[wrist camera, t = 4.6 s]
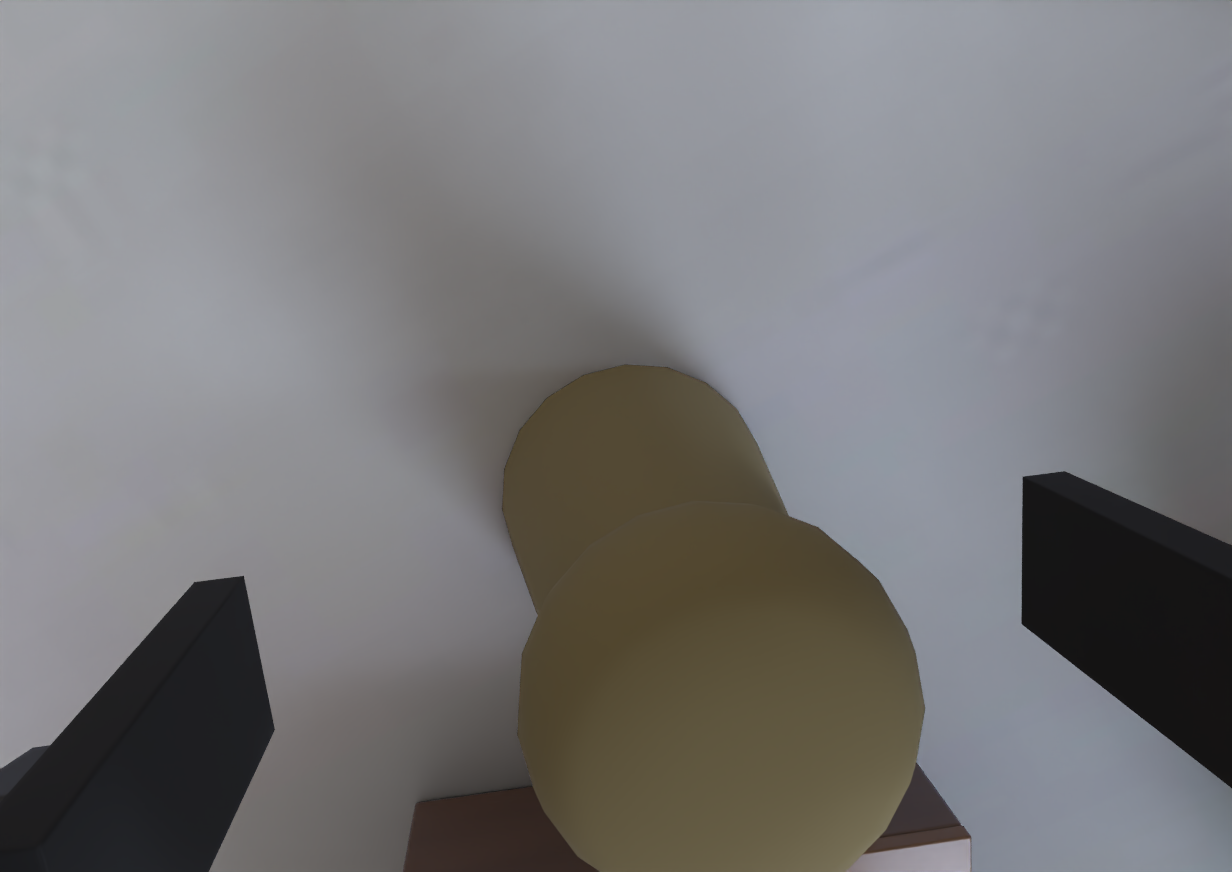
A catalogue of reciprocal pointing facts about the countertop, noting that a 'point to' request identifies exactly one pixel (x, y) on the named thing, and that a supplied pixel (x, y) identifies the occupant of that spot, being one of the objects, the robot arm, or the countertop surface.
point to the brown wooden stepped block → (548, 868)
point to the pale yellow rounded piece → (697, 643)
